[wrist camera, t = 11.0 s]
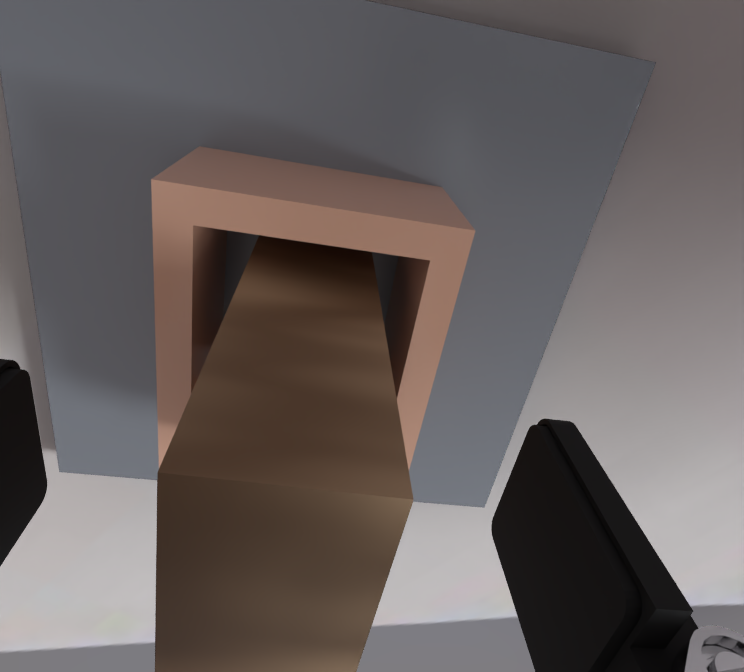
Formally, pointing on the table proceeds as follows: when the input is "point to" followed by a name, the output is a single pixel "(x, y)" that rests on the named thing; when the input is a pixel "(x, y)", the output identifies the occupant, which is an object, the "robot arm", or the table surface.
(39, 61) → the square base with socket
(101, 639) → the table surface
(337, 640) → the wooden rectangular block
